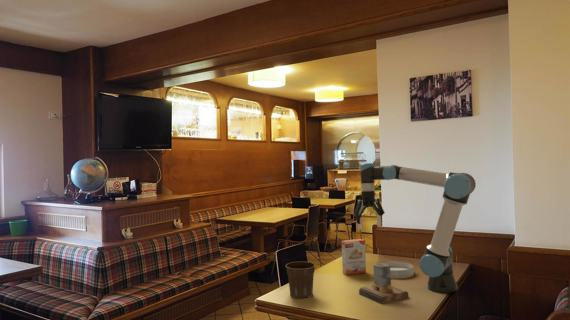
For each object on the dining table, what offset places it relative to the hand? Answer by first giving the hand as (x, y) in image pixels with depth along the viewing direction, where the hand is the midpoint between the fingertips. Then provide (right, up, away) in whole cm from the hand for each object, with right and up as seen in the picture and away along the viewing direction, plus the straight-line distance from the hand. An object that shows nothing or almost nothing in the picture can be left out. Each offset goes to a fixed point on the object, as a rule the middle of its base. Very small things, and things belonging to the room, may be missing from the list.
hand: (369, 228), depth 225 cm
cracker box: (-4, -34, +28) cm, 44 cm away
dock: (+4, -32, -16) cm, 36 cm away
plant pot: (-39, -35, -9) cm, 53 cm away
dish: (+21, -33, +24) cm, 45 cm away
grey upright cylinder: (+3, -29, -16) cm, 34 cm away
